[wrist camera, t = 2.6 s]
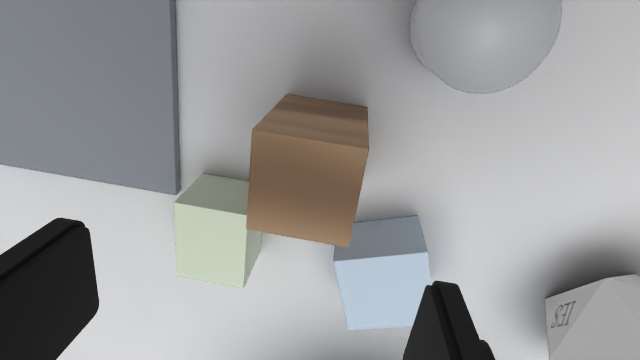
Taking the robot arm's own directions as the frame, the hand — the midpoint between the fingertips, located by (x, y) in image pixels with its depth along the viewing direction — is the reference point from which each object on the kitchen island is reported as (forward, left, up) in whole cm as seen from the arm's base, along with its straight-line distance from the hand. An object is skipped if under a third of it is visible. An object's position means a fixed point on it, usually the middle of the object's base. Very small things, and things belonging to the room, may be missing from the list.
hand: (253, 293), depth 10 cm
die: (+7, +20, -13) cm, 24 cm away
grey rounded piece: (-8, +7, -13) cm, 16 cm away
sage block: (+5, -4, -13) cm, 14 cm away
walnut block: (-1, +1, -13) cm, 12 cm away
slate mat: (-3, -14, -12) cm, 19 cm away
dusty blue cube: (+6, +6, -13) cm, 15 cm away
